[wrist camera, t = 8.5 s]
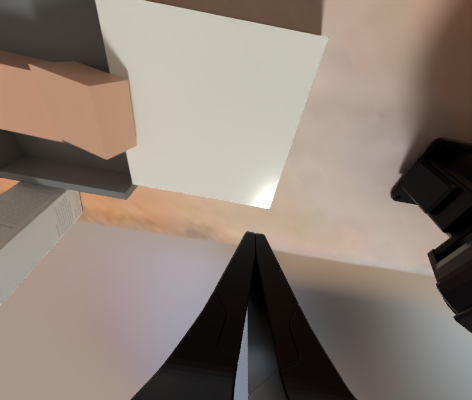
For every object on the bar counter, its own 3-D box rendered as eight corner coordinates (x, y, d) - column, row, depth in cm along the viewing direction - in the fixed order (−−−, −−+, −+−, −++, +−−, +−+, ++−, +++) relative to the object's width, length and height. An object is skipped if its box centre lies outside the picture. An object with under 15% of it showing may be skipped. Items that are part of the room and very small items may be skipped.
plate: (321, 36, 14) (328, 37, 12) (268, 196, 23) (269, 208, 21) (111, -6, 14) (93, -11, 12) (141, 173, 23) (132, 184, 21)
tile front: (128, 80, 14) (88, 86, 12) (136, 145, 18) (106, 159, 16) (74, 61, 15) (28, 63, 13) (91, 126, 19) (57, 137, 16)
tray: (109, -24, 13) (69, -37, 10) (142, 179, 23) (126, 199, 20) (-101, -66, 13) (-197, -91, 10) (25, 158, 23) (-7, 176, 20)
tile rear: (68, 65, 16) (36, 72, 14) (86, 128, 19) (62, 142, 17) (1, 50, 16) (-43, 53, 14) (30, 116, 19) (-2, 128, 17)
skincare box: (39, 166, 23) (-110, 258, 14) (81, 179, 24) (-34, 276, 15) (51, 204, 27) (-60, 297, 18) (87, 215, 28) (-1, 309, 18)
